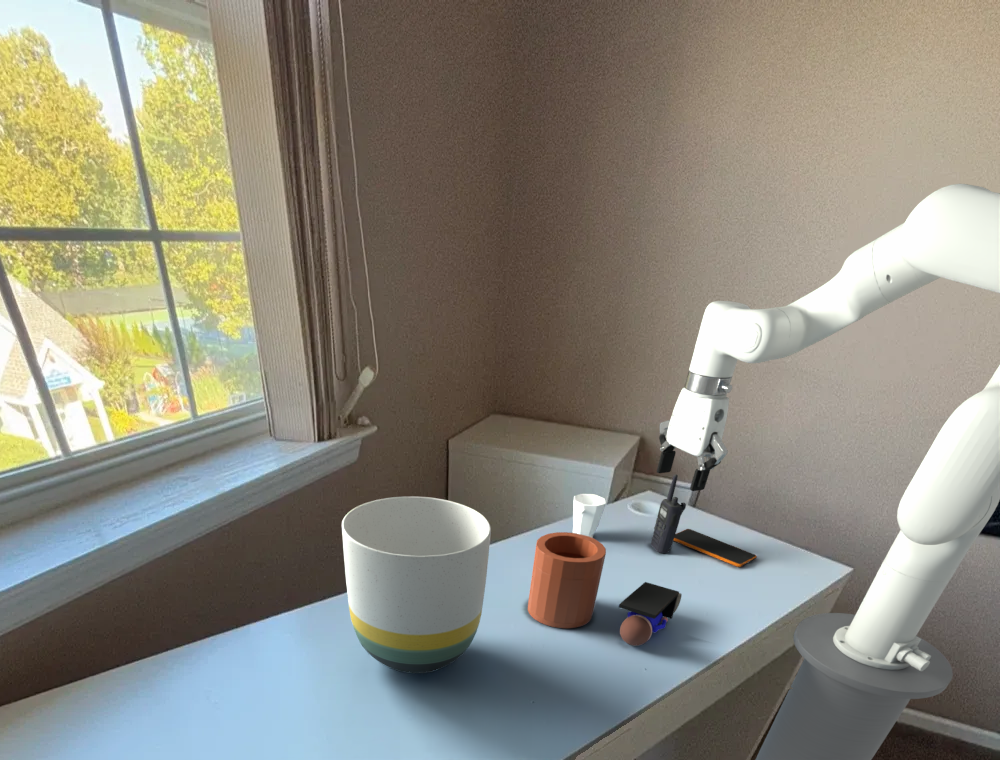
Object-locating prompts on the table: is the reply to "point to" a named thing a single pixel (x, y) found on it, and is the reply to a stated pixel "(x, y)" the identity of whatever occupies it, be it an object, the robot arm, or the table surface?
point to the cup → (587, 513)
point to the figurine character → (647, 612)
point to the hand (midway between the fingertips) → (679, 480)
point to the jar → (565, 579)
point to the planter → (415, 579)
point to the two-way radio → (667, 521)
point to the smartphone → (714, 547)
